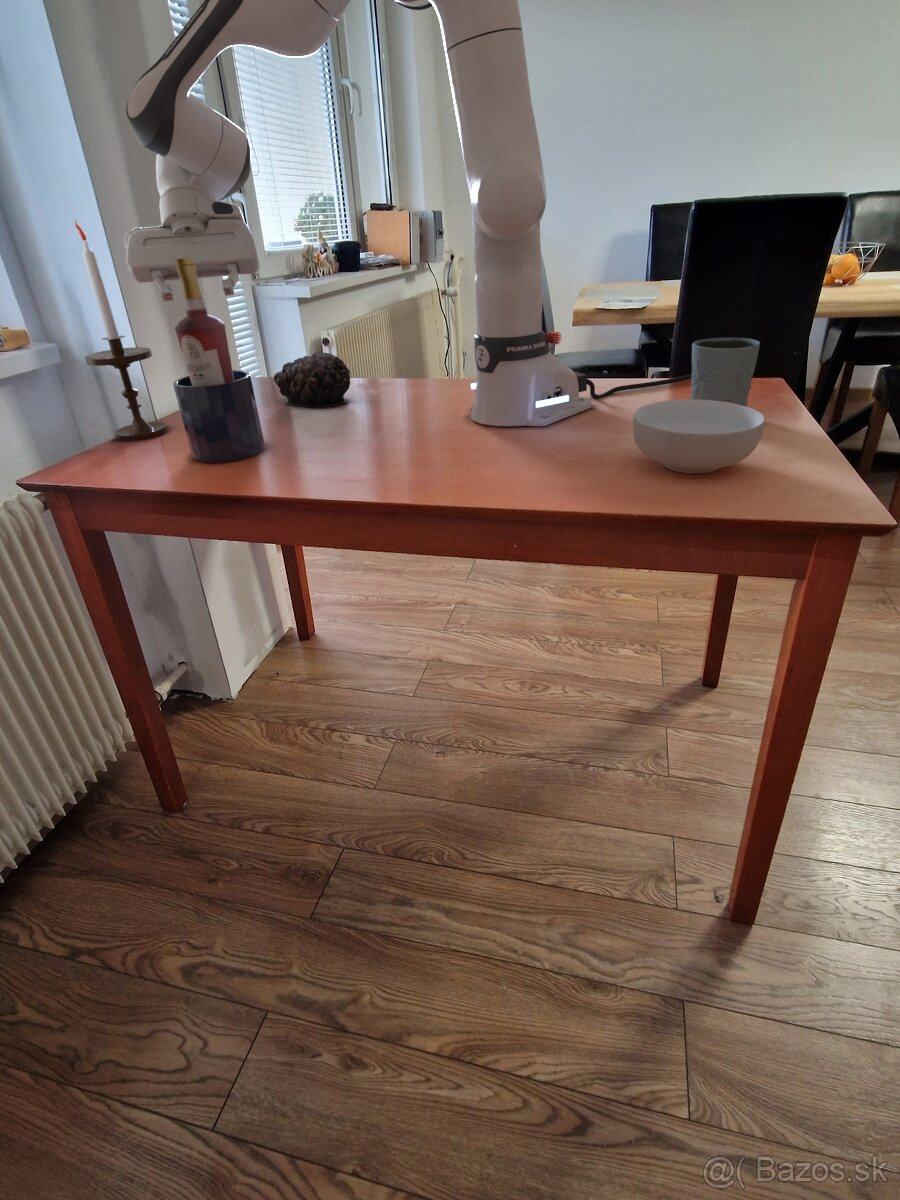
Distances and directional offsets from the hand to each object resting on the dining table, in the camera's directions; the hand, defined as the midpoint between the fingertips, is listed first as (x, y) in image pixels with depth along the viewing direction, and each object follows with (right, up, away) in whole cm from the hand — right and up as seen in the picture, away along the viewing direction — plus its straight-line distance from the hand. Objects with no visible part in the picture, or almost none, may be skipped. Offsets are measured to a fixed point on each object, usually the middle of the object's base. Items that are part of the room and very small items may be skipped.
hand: (198, 295), depth 106 cm
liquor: (+3, -23, +6) cm, 24 cm away
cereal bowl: (+74, -30, -13) cm, 81 cm away
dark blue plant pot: (+3, -24, +6) cm, 24 cm away
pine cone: (+12, -8, +32) cm, 35 cm away
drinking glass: (+85, -18, +6) cm, 87 cm away
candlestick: (-18, -17, +20) cm, 32 cm away
